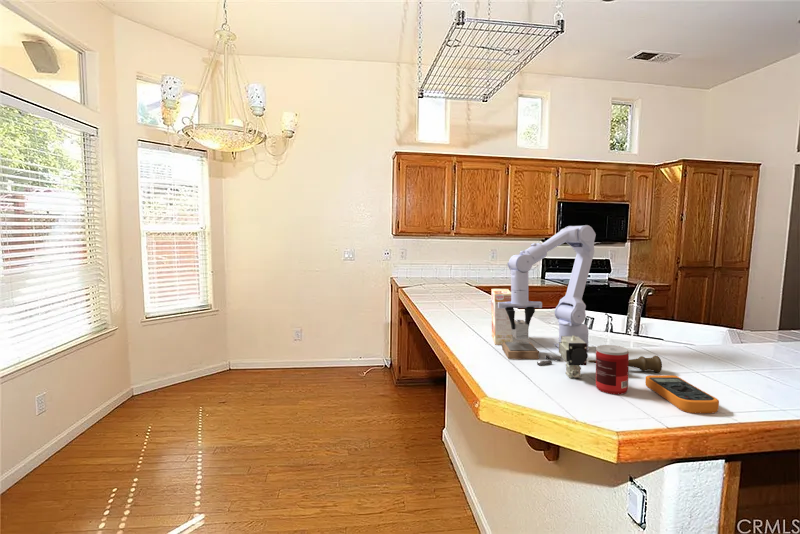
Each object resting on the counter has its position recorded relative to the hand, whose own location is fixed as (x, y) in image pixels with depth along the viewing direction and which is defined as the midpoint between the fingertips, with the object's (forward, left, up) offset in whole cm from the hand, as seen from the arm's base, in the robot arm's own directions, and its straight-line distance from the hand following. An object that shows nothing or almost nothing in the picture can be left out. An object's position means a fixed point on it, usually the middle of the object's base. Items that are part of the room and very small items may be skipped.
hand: (519, 328), depth 143 cm
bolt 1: (-5, +11, -8) cm, 15 cm away
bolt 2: (-9, +7, -9) cm, 14 cm away
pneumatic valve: (-10, +23, -9) cm, 27 cm away
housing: (0, 0, -3) cm, 3 cm away
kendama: (-27, +18, -9) cm, 33 cm away
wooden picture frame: (0, 0, -9) cm, 9 cm away
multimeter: (-31, +39, -10) cm, 51 cm away
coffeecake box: (+3, -19, -9) cm, 21 cm away
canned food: (-17, +33, -9) cm, 38 cm away
